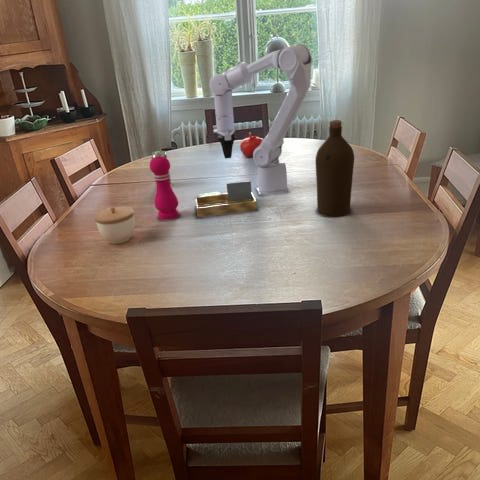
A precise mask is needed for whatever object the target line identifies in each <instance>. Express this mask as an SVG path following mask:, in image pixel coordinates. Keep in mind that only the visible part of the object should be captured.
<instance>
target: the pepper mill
mask: <svg viewBox="0 0 480 480" xmlns="http://www.w3.org/2000/svg"><path fill="white" fill-rule="evenodd" d="M155 151H156V152H155ZM155 151H154V152H155V156H156V157H154V158H153V159H152V158H151V159H150V160H149V170H150V171H151V173H153V174H152V177H153V180H154V181H155V185H156V190H155V196H154V202H153V203H154V208H155V209H156V210H157V211H158V212H157V216H158V219H159V220H162V221H169V220H174V219H176V218H178V217H179V215H180V213H179V209H177V208H178V206H179V199H178V197H177V195H176V193H175V192H174V190H173V188H172V186H171V185H172V184H171V185H170V181H169V178H170V179H171V173H170V169H171V163H170V159H168V157H167V158H166V157H163V156H161V152H160V151H161V150H155ZM168 171H169V172H168Z"/></svg>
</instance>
